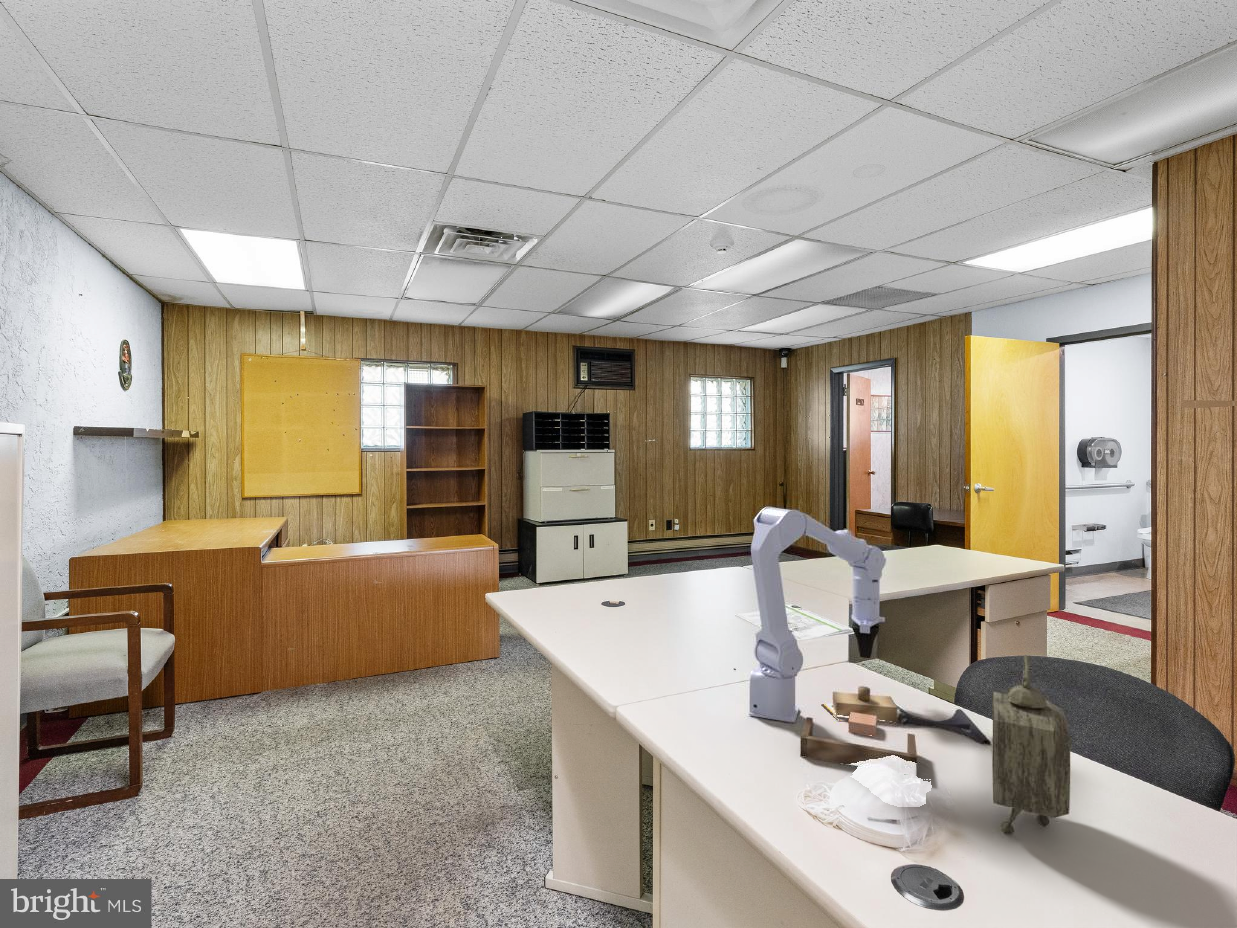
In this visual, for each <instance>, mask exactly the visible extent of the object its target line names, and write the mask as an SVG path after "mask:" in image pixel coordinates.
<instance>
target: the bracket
mask: <svg viewBox="0 0 1237 928" xmlns="http://www.w3.org/2000/svg"><path fill="white" fill-rule="evenodd" d="M904 719H905V721H903V720H904ZM897 723H898V724H899V725H907V726H916V727H917V726H919V727H932V728H933V727H934V728H939V729H944V730H947V731H950V732H953V733H956V734H959V735H962V736H964V737H966V738H968V739H971V740H973V741H974V742H976V743H978V744H981V745H984V742H985V743H986V744H987V745H988V746H990V745H991V744H992V743H991V741H990V739H989V738H988V737H987V736H986V735H985V734H984V733H983V732H982V730H980V729H979V727H978V726H977V725H976V724H975V723H974V722H973V721H972V720H971V718H970V717H969V716H968V715H967V714H966V713H965V712H964V711H963V710H962V709H960V708H957V709H956V710H955V712H954V713H953V715H952V717H949V718H947V719H945V720H933V719H928V718H923V717H921V716H916V715H913V714H910V713H908V712H905V711H904V712H901V713H899V714H898V715H897ZM967 730H968V731H967Z"/></svg>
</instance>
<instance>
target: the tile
mask: <svg viewBox="0 0 1237 928" xmlns="http://www.w3.org/2000/svg"><path fill="white" fill-rule="evenodd" d="M877 722H878V721H877V716H873V715H867V714H861V713H855V712H850V717H849V719H848V733H853V734H858V735H862V734H863V736H868V735H872V736H871V737H873V736H876V734H877V733H876V732H877V727H876V726H877V725H878V724H877Z"/></svg>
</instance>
